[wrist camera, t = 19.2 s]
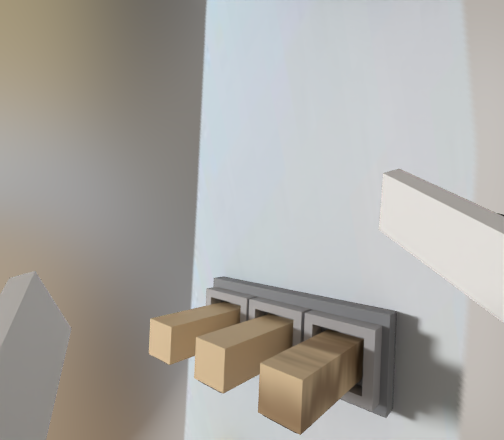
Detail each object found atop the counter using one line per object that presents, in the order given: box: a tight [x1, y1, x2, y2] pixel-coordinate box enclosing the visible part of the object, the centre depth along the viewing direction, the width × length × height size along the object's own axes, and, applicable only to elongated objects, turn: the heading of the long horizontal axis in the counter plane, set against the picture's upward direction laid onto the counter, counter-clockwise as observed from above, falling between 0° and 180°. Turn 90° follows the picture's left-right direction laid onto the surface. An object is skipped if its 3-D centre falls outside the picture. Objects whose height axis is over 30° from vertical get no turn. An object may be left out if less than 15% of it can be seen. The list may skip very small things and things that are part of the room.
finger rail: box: [149, 277, 396, 418], centre depth 35 cm, size 10×25×14 cm, turn 87°
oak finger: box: [258, 329, 364, 435], centre depth 29 cm, size 4×4×12 cm
